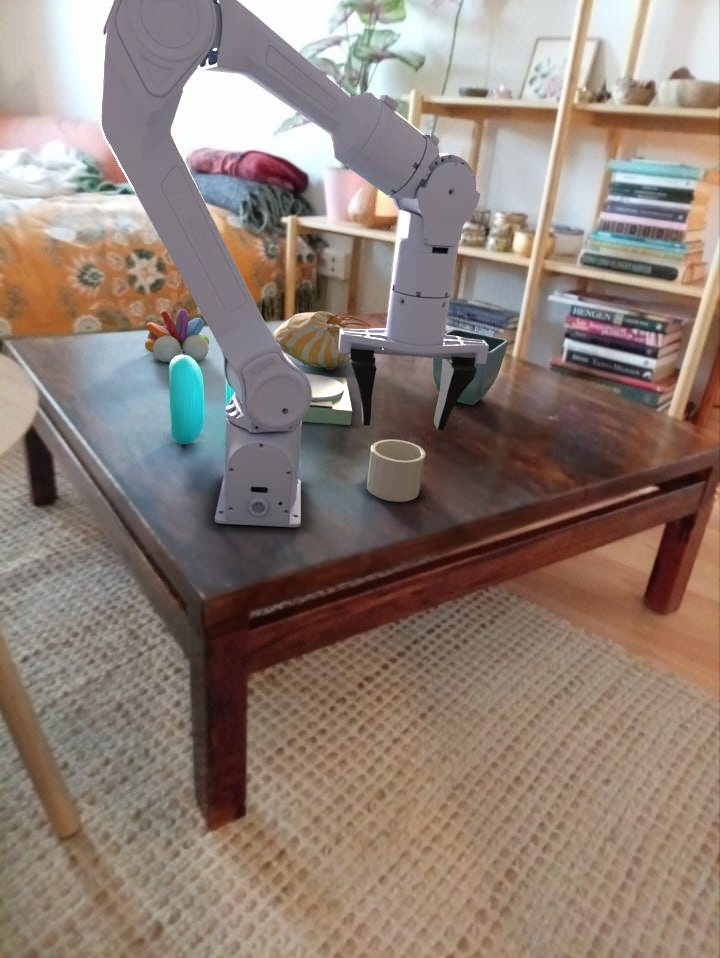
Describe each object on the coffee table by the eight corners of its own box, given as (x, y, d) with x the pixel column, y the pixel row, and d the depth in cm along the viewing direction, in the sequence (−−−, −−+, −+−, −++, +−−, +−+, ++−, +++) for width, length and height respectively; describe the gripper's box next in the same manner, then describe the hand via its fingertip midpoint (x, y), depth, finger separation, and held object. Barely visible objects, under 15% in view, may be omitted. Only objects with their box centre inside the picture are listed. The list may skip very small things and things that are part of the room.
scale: (350, 425, 91) (352, 406, 90) (265, 419, 90) (265, 400, 89) (344, 391, 103) (346, 373, 101) (269, 385, 101) (269, 368, 100)
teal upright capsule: (263, 457, 80) (267, 372, 75) (172, 458, 77) (170, 371, 72) (252, 423, 88) (255, 345, 84) (169, 423, 85) (168, 343, 81)
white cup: (423, 503, 74) (429, 463, 72) (369, 500, 73) (374, 460, 71) (415, 478, 79) (421, 441, 77) (364, 475, 78) (369, 437, 76)
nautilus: (342, 344, 126) (405, 372, 118) (248, 353, 111) (312, 386, 103) (350, 300, 123) (415, 326, 114) (254, 303, 108) (321, 333, 99)
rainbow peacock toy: (140, 348, 110) (139, 302, 107) (202, 347, 114) (202, 302, 111) (150, 365, 104) (149, 316, 100) (215, 363, 108) (216, 316, 104)
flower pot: (422, 398, 103) (431, 338, 99) (444, 384, 110) (453, 327, 106) (479, 413, 100) (491, 352, 96) (498, 397, 107) (509, 340, 103)
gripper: (485, 289, 71) (463, 414, 77) (342, 276, 69) (330, 405, 75) (503, 305, 65) (477, 440, 71) (346, 291, 63) (333, 431, 69)
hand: (402, 424), depth 72 cm, fingers open, 7 cm apart
